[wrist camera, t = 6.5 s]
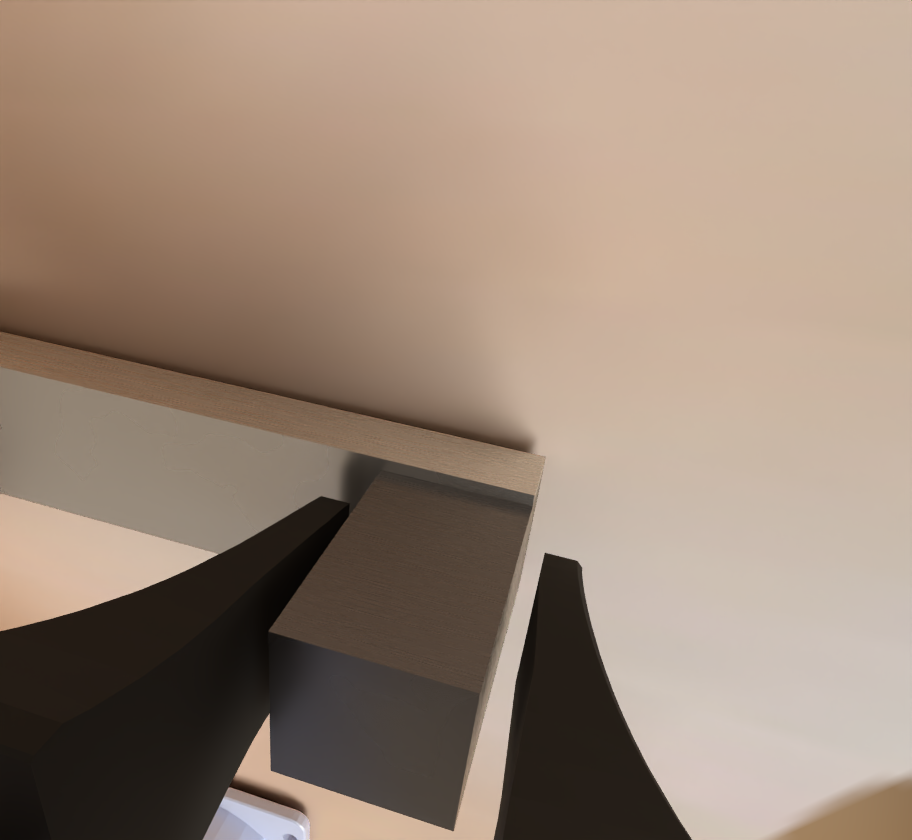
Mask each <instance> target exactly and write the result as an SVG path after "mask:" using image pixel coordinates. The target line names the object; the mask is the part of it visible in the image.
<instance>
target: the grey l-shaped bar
mask: <svg viewBox="0 0 912 840" xmlns="http://www.w3.org/2000/svg"><path fill="white" fill-rule="evenodd" d="M545 459H546V457H544V456H540V455H535V454H531V453H527V452H522V451H518V450H514V449H509V448H505V447H501V446H496V445H492V444H488V443H483V442H479V441H474V440H470V439H466V438H461V437H457V436H453V435H448V434H444V433H440V432H435V431H431V430H427V429H422V428H418V427H414V426H409V425H405V424H400V423H396V422H392V421H387V420H383V419H379V418H374V417H370V416H366V415H361V414H357V413H353V412H348V411H344V410H340V409H335V408H331V407H327V406H322V405H318V404H313V403H309V402H305V401H300V400H296V399H292V398H287V397H283V396H279V395H274V394H270V393H266V392H261V391H257V390H253V389H248V388H244V387H240V386H235V385H231V384H226V383H222V382H218V381H213V380H209V379H205V378H200V377H196V376H192V375H187V374H183V373H179V372H174V371H170V370H166V369H161V368H157V367H153V366H148V365H144V364H139V363H135V362H131V361H126V360H122V359H118V358H113V357H109V356H105V355H100V354H96V353H92V352H87V351H83V350H79V349H74V348H70V347H65V346H61V345H57V344H52V343H48V342H44V341H39V340H35V339H31V338H26V337H22V336H18V335H13V334H9V333H5V332H0V493H1V494H5V495H9V496H12V497H16V498H19V499H23V500H27V501H30V502H34V503H38V504H41V505H45V506H48V507H52V508H56V509H59V510H63V511H66V512H70V513H74V514H77V515H81V516H84V517H88V518H92V519H95V520H99V521H102V522H106V523H110V524H113V525H117V526H121V527H124V528H128V529H131V530H135V531H139V532H142V533H146V534H149V535H153V536H157V537H160V538H164V539H167V540H171V541H175V542H178V543H182V544H185V545H189V546H193V547H196V548H200V549H204V550H207V551H211V552H214V553H218V554H220V553H222V552H224V551H226V550H228V549H230V548H232V547H234V546H236V545H238V544H240V543H242V542H243V541H245V540H247V539H249V538H250V537H252V536H254V535H256V534H257V533H259V532H261V531H263V530H264V529H266V528H268V527H269V526H271V525H273V524H274V523H276V522H278V521H279V520H281V519H283V518H285V517H286V516H288V515H290V514H291V513H293V512H295V511H296V510H298V509H300V508H301V507H303V506H305V505H306V504H308V503H310V502H311V501H313V500H315V499H317V498H318V497H320V496H323V497H327V498H331V499H335V500H339V501H343V502H347V503H350V507H349V517H348V518H347V520H346V521H345V522H344V524H343V525H342V527H341V528H340V530H339V531H338V533H337V534H336V535H335V537H334V538H333V540H332V541H331V543H330V544H329V545H328V547H327V548H326V550H325V551H324V553H323V554H322V555H321V557H320V558H319V560H318V561H317V563H316V564H315V565H314V567H313V568H312V570H311V571H310V573H309V574H308V575H307V577H306V578H305V580H304V581H303V583H302V584H301V585H300V587H299V588H298V590H297V591H296V593H295V594H294V595H293V597H292V598H291V600H290V601H289V603H288V604H287V605H286V607H285V608H284V610H283V611H282V613H281V614H280V616H279V617H278V618H277V620H276V621H275V623H274V624H273V626H272V627H271V628H270V630H269V631H268V639H269V696H270V753H271V771H273V772H276V773H279V774H283V775H286V776H289V777H292V778H295V779H298V780H301V781H304V782H307V783H310V784H313V785H316V786H319V787H322V788H325V789H328V790H331V791H334V792H337V793H340V794H343V795H346V796H349V797H352V798H355V799H358V800H361V801H364V802H367V803H370V804H373V805H376V806H379V807H382V808H385V809H388V810H391V811H394V812H397V813H400V814H403V815H406V816H409V817H412V818H415V819H418V820H421V821H424V822H427V823H430V824H433V825H436V826H439V827H442V828H445V829H448V830H451V831H454V828H455V824H456V820H457V816H458V813H459V809H460V805H461V801H462V798H463V794H464V790H465V786H466V782H467V779H468V775H469V771H470V767H471V764H472V760H473V756H474V752H475V748H476V745H477V741H478V737H479V733H480V730H481V726H482V722H483V718H484V715H485V711H486V707H487V703H488V699H489V696H490V692H491V688H492V684H493V681H494V677H495V673H496V669H497V665H498V662H499V658H500V654H501V650H502V647H503V643H504V639H505V635H506V633H507V630H508V626H509V622H510V618H511V615H512V611H513V607H514V603H515V599H516V596H517V592H518V588H519V583H520V579H521V574H522V569H523V564H524V559H525V555H526V550H527V545H528V540H529V535H530V531H531V526H532V521H533V516H534V511H535V507H536V502H537V497H538V492H539V487H540V483H541V478H542V473H543V468H544V463H545Z"/></svg>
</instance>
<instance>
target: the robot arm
mask: <svg viewBox="0 0 912 840" xmlns="http://www.w3.org/2000/svg"><path fill="white" fill-rule="evenodd" d="M349 507H350V503H347V502H343V501H339V500H335V499H331V498H327V497H323V496H320V497H318V498H317V499H315V500H313V501H311V502H310V503H308V504H306V505H305V506H303V507H301V508H300V509H298V510H296V511H295V512H293V513H291V514H290V515H288V516H286V517H285V518H283V519H281V520H279V521H278V522H276V523H274V524H273V525H271V526H269V527H268V528H266V529H264V530H263V531H261V532H259V533H257V534H256V535H254V536H252V537H250V538H249V539H247V540H245V541H243V542H242V543H240V544H238V545H236V546H234V547H232V548H230V549H228V550H226V551H224V552H222V553H220V554H219V555H217V556H215V557H213V558H211V559H209V560H207V561H205V562H203V563H201V564H199V565H197V566H195V567H193V568H191V569H189V570H187V571H184V572H182V573H180V574H178V575H175V576H173V577H171V578H169V579H166V580H164V581H161V582H159V583H156V584H154V585H152V586H149V587H147V588H144V589H142V590H139V591H136V592H134V593H131V594H128V595H125V596H122V597H119V598H116V599H113V600H110V601H107V602H104V603H102V604H99V605H96V606H93V607H90V608H87V609H84V610H81V611H77V612H74V613H70V614H67V615H63V616H60V617H56V618H53V619H49V620H45V621H41V622H37V623H33V624H29V625H26V626H22V627H17V628H13V629H9V630H4V631H0V840H309V837H310V823H309V820H308V818H307V817H306V815H304V814H303V813H302V812H300V811H298V810H296V809H293V808H290V807H287V806H284V805H281V804H278V803H275V802H272V801H269V800H266V799H263V798H260V797H257V796H254V795H252V794H249V793H246V792H243V791H240V790H237V789H234V788H231V787H229V786H230V784H231V782H232V780H233V778H234V776H235V774H236V772H237V770H238V768H239V766H240V764H241V762H242V760H243V758H244V756H245V755H246V753H247V751H248V749H249V747H250V745H251V743H252V741H253V739H254V738H255V736H256V734H257V733H258V731H259V729H260V728H261V726H262V724H263V722H264V721H265V719H266V718H267V716H268V715H269V713H270V696H269V639H268V631H269V630H270V628H271V627H272V626H273V624H274V623H275V621H276V620H277V618H278V617H279V616H280V614H281V613H282V611H283V610H284V608H285V607H286V605H287V604H288V603H289V601H290V600H291V598H292V597H293V595H294V594H295V593H296V591H297V590H298V588H299V587H300V585H301V584H302V583H303V581H304V580H305V578H306V577H307V575H308V574H309V573H310V571H311V570H312V568H313V567H314V565H315V564H316V563H317V561H318V560H319V558H320V557H321V555H322V554H323V553H324V551H325V550H326V548H327V547H328V545H329V544H330V543H331V541H332V540H333V538H334V537H335V535H336V534H337V533H338V531H339V530H340V528H341V527H342V525H343V524H344V522H345V521H346V520H347V518H348V517H349ZM494 840H692V839H691V837H690V836H689V834H688V833H687V831H686V830H685V828H684V827H683V825H682V824H681V822H680V821H679V819H678V817H677V816H676V814H675V812H674V811H673V809H672V807H671V805H670V804H669V802H668V800H667V799H666V797H665V795H664V793H663V792H662V790H661V788H660V787H659V785H658V783H657V781H656V780H655V778H654V776H653V775H652V773H651V771H650V769H649V768H648V766H647V764H646V762H645V760H644V758H643V756H642V754H641V752H640V750H639V748H638V746H637V744H636V742H635V740H634V738H633V736H632V734H631V732H630V729H629V727H628V725H627V723H626V721H625V719H624V716H623V714H622V712H621V709H620V707H619V705H618V702H617V700H616V697H615V695H614V692H613V690H612V687H611V684H610V682H609V679H608V676H607V674H606V671H605V668H604V665H603V662H602V659H601V656H600V653H599V650H598V646H597V643H596V639H595V636H594V632H593V629H592V625H591V621H590V617H589V613H588V609H587V604H586V599H585V594H584V587H583V579H582V567H581V566H580V564H579V563H578V561H575V560H571V559H567V558H563V557H559V556H555V555H552V554H548V553H545V555H544V559H543V564H542V568H541V572H540V577H539V581H538V586H537V590H536V595H535V599H534V604H533V608H532V612H531V617H530V621H529V626H528V630H527V635H526V639H525V644H524V648H523V652H522V657H521V661H520V666H519V670H518V675H517V679H516V685H515V693H514V701H513V709H512V717H511V725H510V733H509V741H508V749H507V757H506V766H505V774H504V782H503V790H502V798H501V804H500V810H499V816H498V822H497V827H496V831H495V836H494Z"/></svg>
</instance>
